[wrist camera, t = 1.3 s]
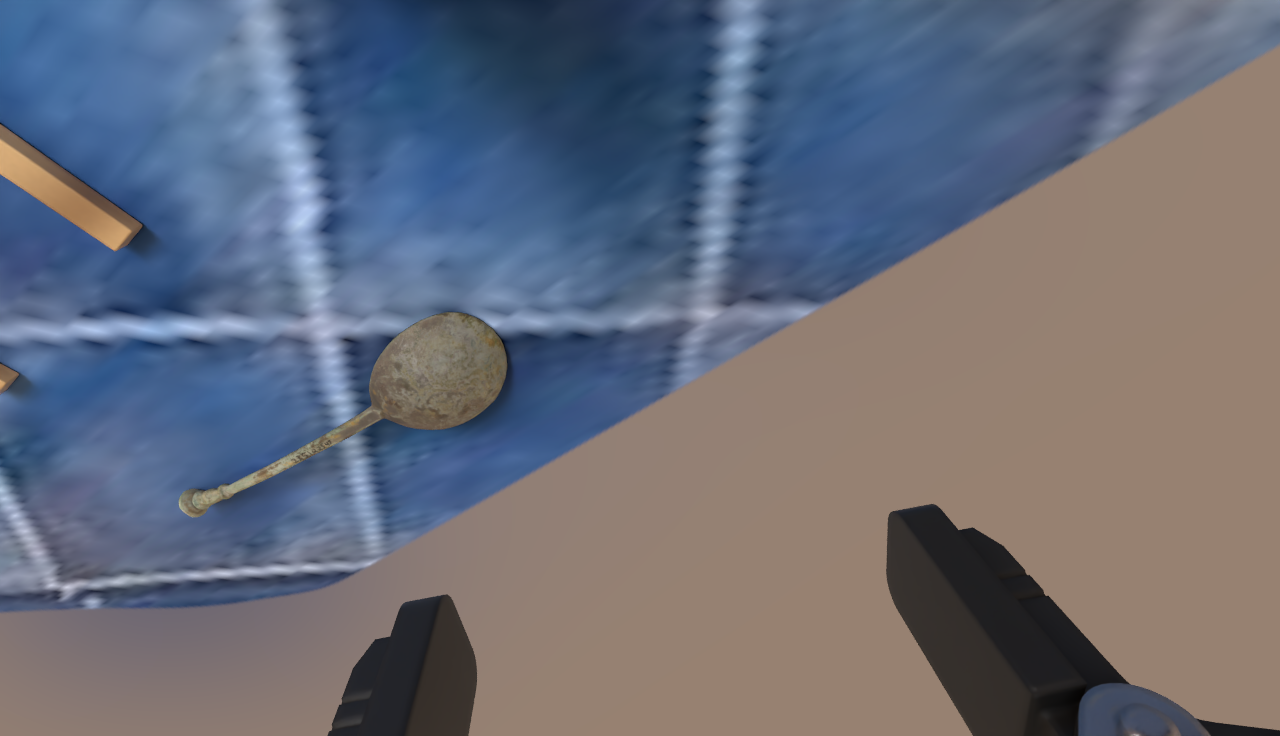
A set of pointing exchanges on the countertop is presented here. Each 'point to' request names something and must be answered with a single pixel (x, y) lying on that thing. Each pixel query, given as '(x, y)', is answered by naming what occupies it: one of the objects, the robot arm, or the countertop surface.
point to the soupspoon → (405, 391)
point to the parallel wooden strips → (61, 202)
